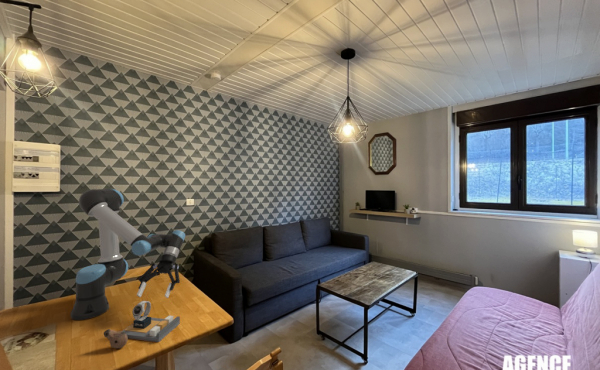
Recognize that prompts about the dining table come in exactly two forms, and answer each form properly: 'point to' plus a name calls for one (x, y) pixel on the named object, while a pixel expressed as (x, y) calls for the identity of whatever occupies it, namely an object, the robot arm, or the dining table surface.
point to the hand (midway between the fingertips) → (152, 296)
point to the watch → (141, 320)
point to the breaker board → (147, 335)
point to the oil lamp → (116, 338)
